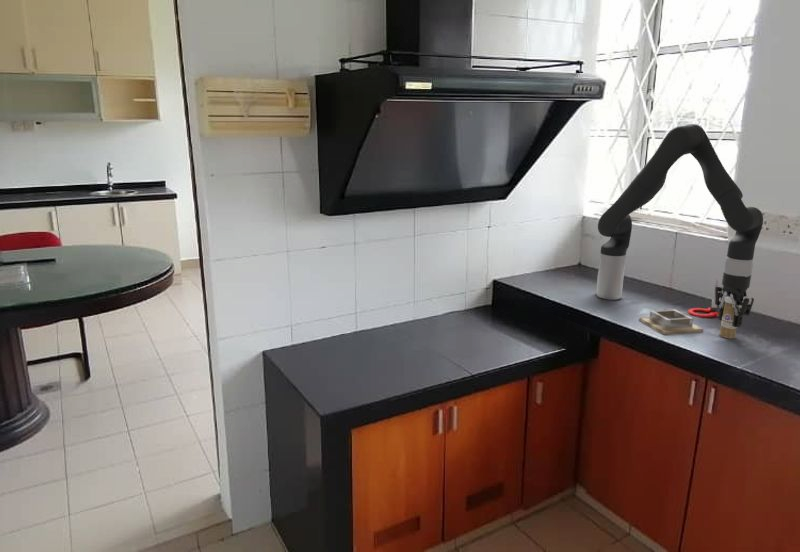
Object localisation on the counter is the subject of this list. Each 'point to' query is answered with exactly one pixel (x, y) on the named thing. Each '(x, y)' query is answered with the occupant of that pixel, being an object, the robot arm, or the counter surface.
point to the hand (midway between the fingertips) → (729, 323)
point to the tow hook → (711, 309)
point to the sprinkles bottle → (728, 319)
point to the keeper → (670, 322)
